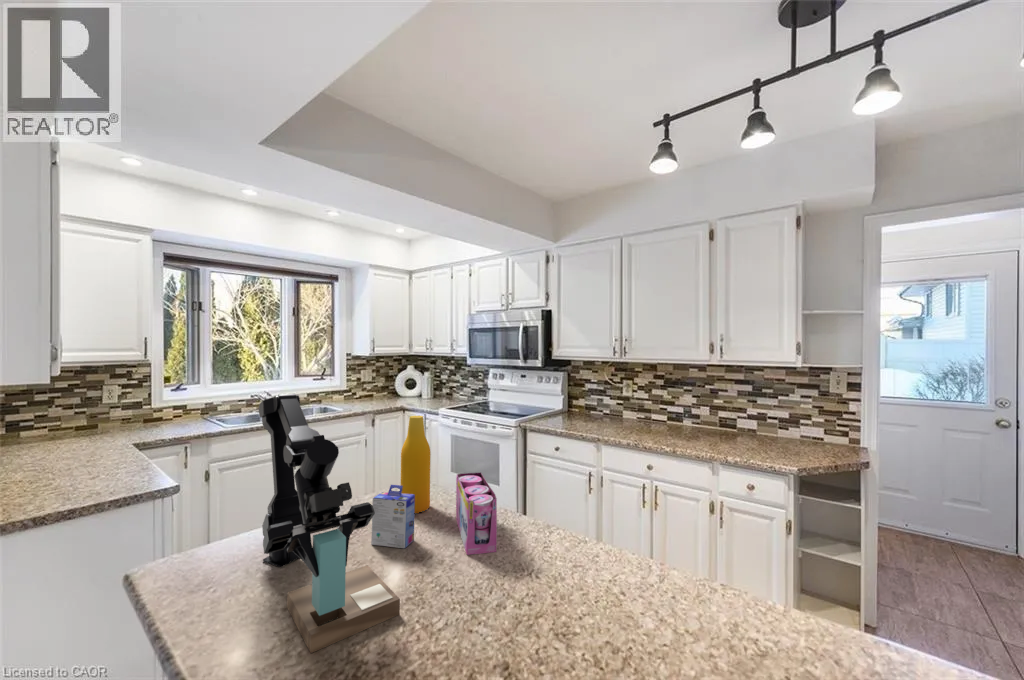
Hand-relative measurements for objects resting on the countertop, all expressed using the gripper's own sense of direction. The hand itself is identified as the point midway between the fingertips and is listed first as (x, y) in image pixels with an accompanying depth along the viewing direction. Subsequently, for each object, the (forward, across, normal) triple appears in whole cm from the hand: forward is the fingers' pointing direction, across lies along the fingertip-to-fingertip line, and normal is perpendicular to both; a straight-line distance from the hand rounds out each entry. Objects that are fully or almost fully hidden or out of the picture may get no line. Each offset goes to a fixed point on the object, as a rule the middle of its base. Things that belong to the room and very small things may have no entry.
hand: (331, 571), depth 75 cm
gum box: (-3, +43, +20) cm, 48 cm away
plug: (+4, 0, +6) cm, 7 cm away
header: (+4, +4, +12) cm, 13 cm away
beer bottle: (-22, +39, +38) cm, 59 cm away
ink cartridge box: (-10, +24, +26) cm, 37 cm away
